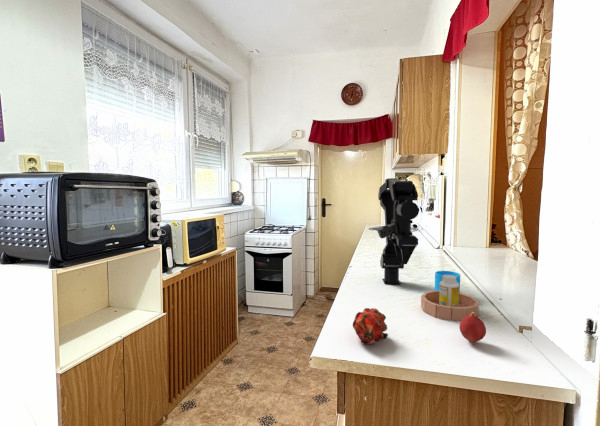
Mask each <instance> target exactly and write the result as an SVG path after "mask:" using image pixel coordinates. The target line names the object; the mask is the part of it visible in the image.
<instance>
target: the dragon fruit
mask: <svg viewBox="0 0 600 426" xmlns="http://www.w3.org/2000/svg"><path fill="white" fill-rule="evenodd" d="M381 312H382V311H381ZM381 312H380V311H379V309H378V308H375V307H374V308H370V307H365V308H364V309H363V310H362V311H358V312H357V313H356V314H355V316H354V320H353V322H352V328H353V330H354V331H355V333H356V335H357V336H358V339H359V340H360V342H361V343H362V344H363V345H364V346H366V345H367V344H370V345H371V344H372V345H373V344H376V342H380V341H382V340H386V339H387V337H389V334H388V333H387V332H386V331H387V330H388V325H387V324H386V322H385V320H386V319H387V317H386V315H385V314H384V313H381Z"/></svg>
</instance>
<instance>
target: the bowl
mask: <svg viewBox="0 0 600 426" xmlns="http://www.w3.org/2000/svg"><path fill="white" fill-rule="evenodd" d="M420 308H421V309H422V311H423V312H424V313H425V314H427V315H429V316H431V317H433V318H436V319H439V320H443V321H447V322H448V321H449V322H461V321H462V319H463V318H464V317H466V316H467V315H470V314H471V313H472V312H474V313H475V314H476V316H477V317H478V318H479V313H480V301H479V300H478V299H477V298H475V297H473V296H471V295H468V294H465V293H462V292H460V293H459V307H449V306H444V305H439V291H435V290H430V291H425V292H423V294H421V296H420Z"/></svg>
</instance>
